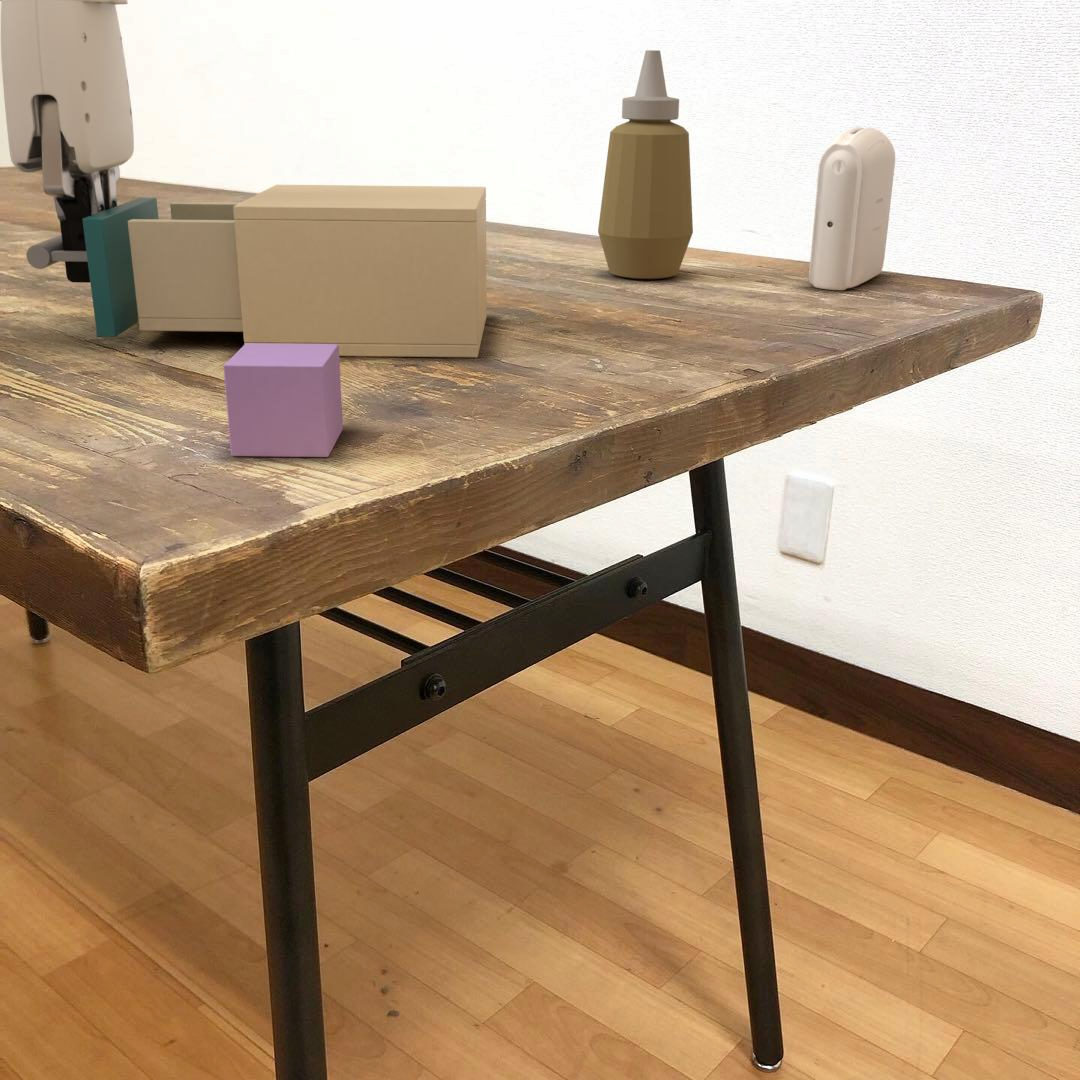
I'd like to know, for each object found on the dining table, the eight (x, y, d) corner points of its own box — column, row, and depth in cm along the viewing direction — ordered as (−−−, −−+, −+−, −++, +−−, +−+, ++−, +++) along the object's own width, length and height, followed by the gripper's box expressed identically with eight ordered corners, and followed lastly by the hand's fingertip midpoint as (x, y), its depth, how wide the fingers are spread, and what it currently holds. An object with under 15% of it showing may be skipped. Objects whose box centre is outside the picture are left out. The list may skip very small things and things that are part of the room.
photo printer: (852, 293, 99) (869, 131, 95) (801, 287, 101) (815, 129, 97) (888, 274, 108) (905, 125, 103) (840, 270, 110) (855, 123, 105)
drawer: (21, 336, 78) (3, 217, 75) (84, 302, 88) (70, 196, 85) (311, 339, 77) (304, 220, 75) (339, 304, 88) (334, 199, 85)
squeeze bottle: (621, 285, 101) (629, 50, 95) (581, 270, 108) (586, 49, 102) (707, 280, 104) (721, 51, 98) (663, 265, 111) (673, 50, 105)
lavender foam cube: (231, 456, 58) (222, 365, 57) (252, 428, 62) (245, 342, 61) (328, 457, 58) (323, 366, 57) (343, 429, 62) (338, 343, 61)
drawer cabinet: (244, 355, 77) (232, 205, 74) (284, 315, 89) (275, 184, 86) (477, 357, 77) (476, 208, 74) (486, 317, 89) (485, 186, 86)
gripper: (45, -18, 82) (79, 261, 89) (-58, -32, 68) (-9, 300, 75) (158, -16, 82) (183, 263, 89) (78, -30, 68) (115, 303, 75)
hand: (95, 279), depth 82 cm, fingers closed
